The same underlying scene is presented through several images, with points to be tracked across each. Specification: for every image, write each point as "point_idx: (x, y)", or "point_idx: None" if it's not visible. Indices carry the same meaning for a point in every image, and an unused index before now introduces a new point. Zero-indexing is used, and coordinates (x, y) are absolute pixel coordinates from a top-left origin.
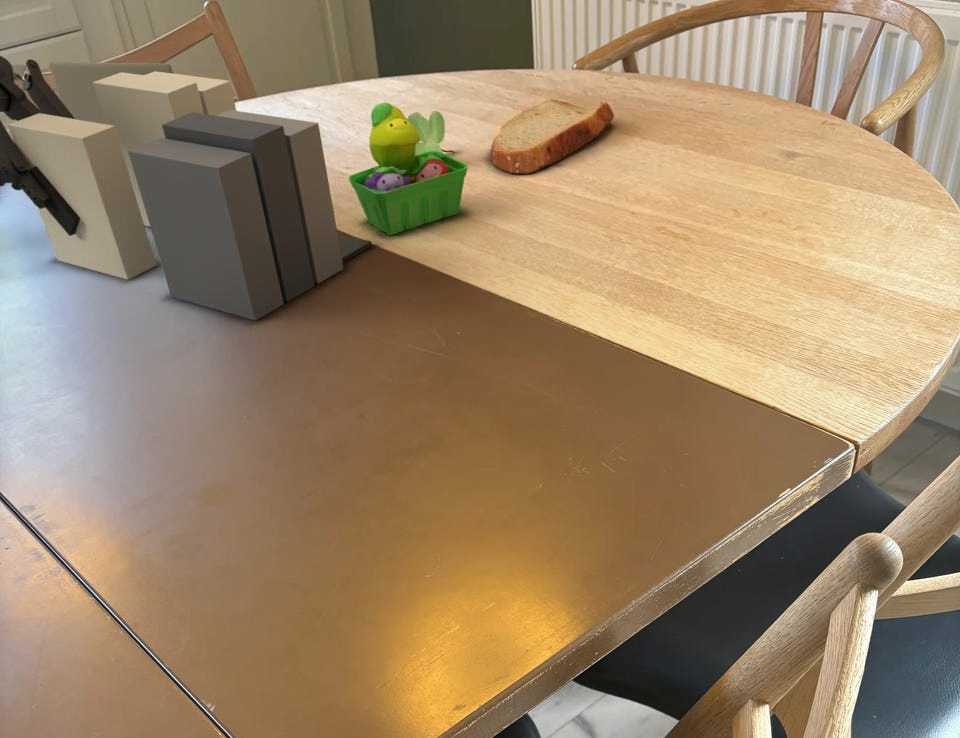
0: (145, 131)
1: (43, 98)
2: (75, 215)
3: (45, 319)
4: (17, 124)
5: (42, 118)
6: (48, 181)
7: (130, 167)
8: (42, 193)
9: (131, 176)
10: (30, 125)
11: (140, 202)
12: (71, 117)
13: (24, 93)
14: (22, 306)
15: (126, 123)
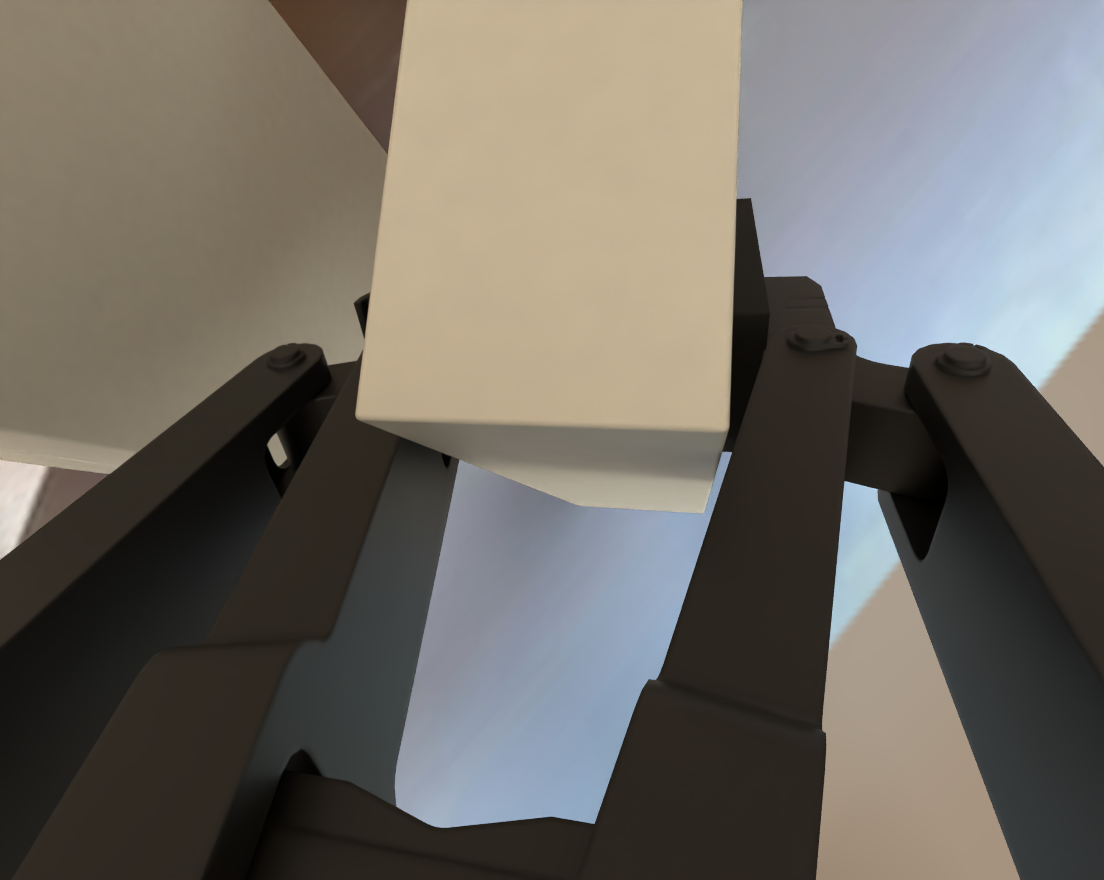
0: (144, 119)
1: (74, 643)
2: None
3: (1067, 153)
4: (683, 325)
5: (469, 243)
6: None
7: None
8: (784, 288)
9: None
10: (665, 160)
11: None
12: (183, 429)
13: (169, 651)
14: (1043, 310)
15: (94, 240)
